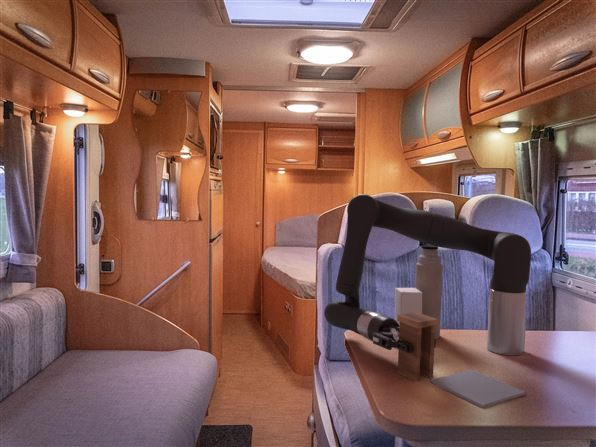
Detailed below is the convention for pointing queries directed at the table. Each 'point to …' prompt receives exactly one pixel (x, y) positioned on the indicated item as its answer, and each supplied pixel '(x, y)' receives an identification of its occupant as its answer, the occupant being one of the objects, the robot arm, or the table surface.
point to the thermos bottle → (430, 283)
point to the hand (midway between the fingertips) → (423, 346)
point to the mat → (478, 388)
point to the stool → (417, 345)
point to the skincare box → (407, 301)
